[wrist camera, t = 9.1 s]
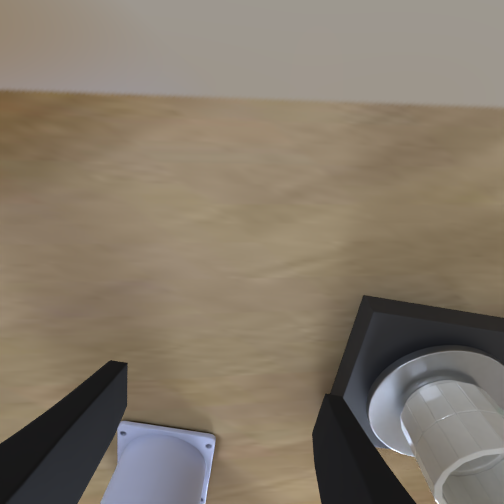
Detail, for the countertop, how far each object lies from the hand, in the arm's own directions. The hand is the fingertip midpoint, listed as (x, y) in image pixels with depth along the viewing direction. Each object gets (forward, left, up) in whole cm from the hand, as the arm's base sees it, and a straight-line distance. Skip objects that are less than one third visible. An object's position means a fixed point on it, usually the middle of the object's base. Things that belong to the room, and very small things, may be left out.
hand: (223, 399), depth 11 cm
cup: (-5, -14, -6) cm, 16 cm away
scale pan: (-5, -14, -7) cm, 16 cm away
